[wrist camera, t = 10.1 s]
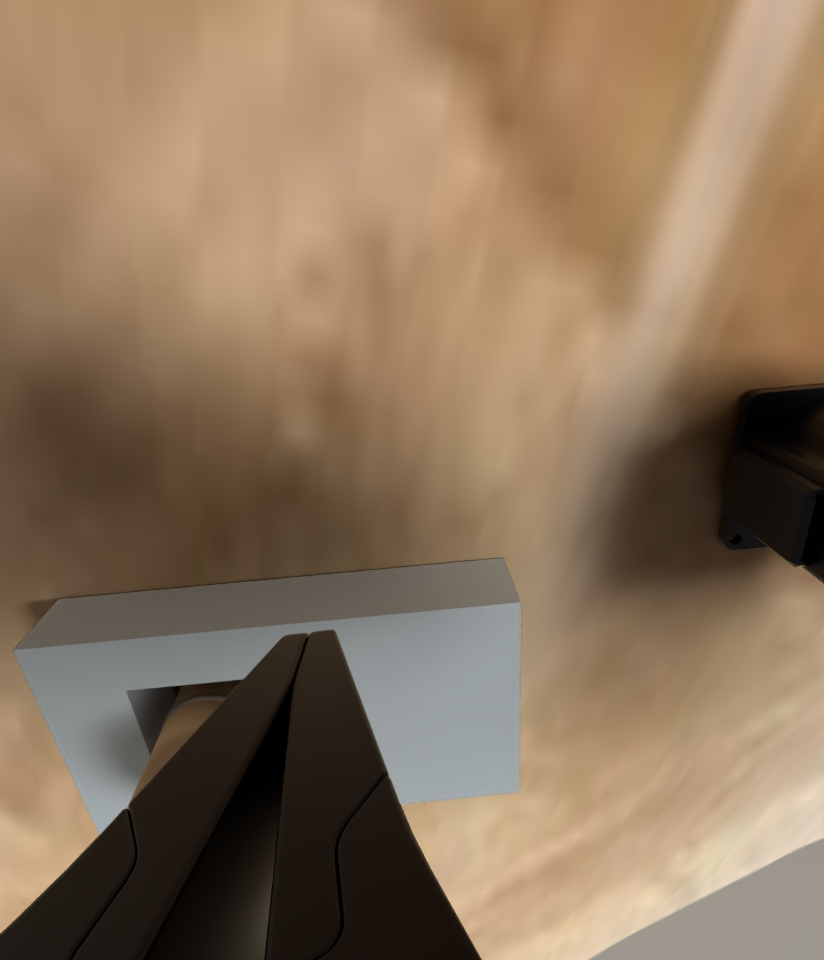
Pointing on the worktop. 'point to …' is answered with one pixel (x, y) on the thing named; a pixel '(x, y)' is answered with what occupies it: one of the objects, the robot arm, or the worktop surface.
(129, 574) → the worktop surface
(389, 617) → the board
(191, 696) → the peg
